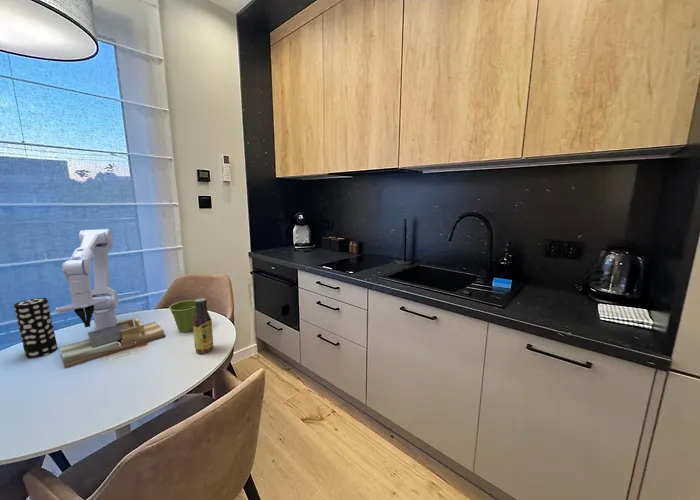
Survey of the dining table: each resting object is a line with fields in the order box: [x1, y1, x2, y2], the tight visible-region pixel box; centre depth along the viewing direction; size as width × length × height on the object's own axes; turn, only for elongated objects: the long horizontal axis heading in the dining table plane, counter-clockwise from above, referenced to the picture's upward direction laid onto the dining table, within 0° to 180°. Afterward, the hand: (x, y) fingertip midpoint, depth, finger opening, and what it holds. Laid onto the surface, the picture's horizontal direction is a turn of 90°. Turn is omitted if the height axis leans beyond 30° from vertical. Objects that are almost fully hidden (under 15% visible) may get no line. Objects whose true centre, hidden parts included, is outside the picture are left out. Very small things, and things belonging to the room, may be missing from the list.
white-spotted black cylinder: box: [13, 297, 58, 359], centre depth 108 cm, size 8×8×20 cm
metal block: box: [87, 323, 130, 347], centre depth 113 cm, size 8×12×3 cm, turn 137°
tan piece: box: [60, 317, 166, 369], centre depth 114 cm, size 14×30×7 cm, turn 137°
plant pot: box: [168, 299, 196, 333], centre depth 127 cm, size 12×12×11 cm
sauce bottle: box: [192, 297, 214, 354], centre depth 108 cm, size 6×6×20 cm
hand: (87, 326), depth 110 cm, fingers closed
